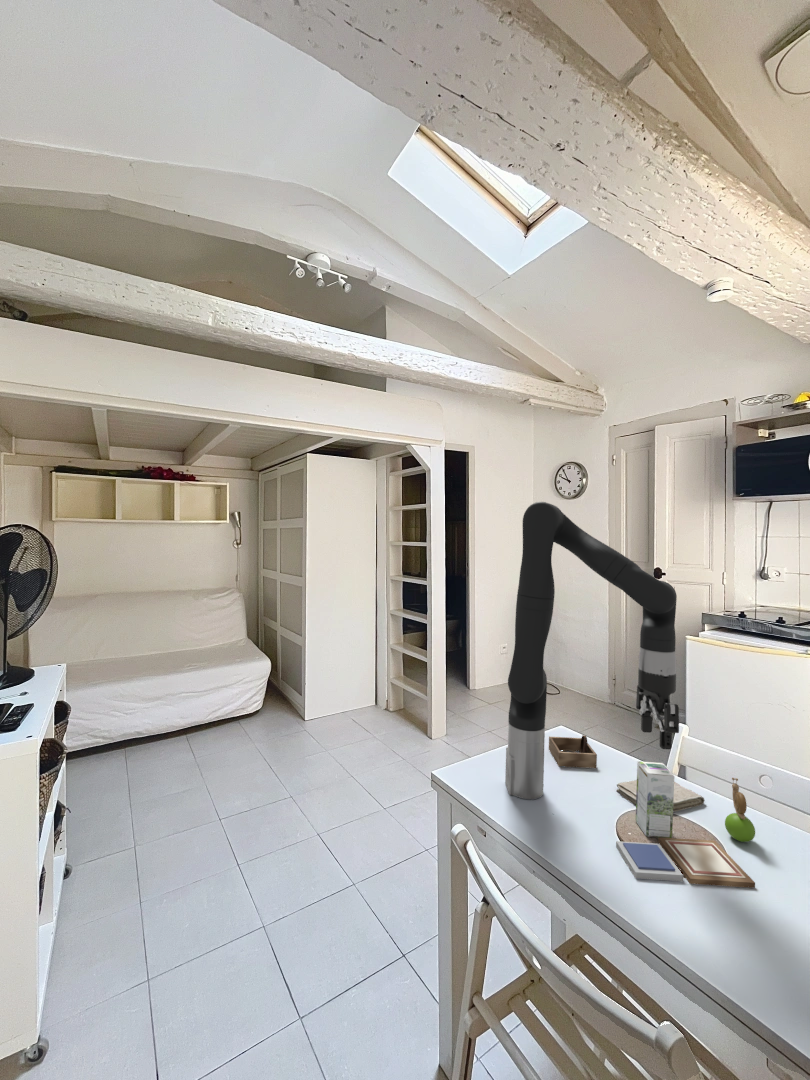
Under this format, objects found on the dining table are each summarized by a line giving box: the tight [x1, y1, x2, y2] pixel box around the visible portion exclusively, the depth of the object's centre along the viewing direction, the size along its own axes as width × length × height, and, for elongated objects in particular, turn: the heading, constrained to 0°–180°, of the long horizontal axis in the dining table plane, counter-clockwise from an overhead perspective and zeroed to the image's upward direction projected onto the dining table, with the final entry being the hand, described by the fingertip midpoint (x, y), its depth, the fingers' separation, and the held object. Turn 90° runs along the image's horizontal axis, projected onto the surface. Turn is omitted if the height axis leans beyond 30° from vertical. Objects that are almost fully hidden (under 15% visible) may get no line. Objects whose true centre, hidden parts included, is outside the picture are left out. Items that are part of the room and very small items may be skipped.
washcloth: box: [616, 779, 706, 813], centre depth 115 cm, size 12×18×3 cm, turn 110°
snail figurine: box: [724, 777, 756, 843], centre depth 100 cm, size 5×6×12 cm
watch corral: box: [548, 736, 598, 769], centre depth 135 cm, size 11×11×4 cm
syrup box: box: [635, 760, 675, 838], centre depth 102 cm, size 6×6×14 cm
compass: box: [560, 734, 588, 753], centre depth 134 cm, size 8×8×7 cm
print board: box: [657, 837, 756, 889], centre depth 91 cm, size 12×12×1 cm
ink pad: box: [615, 840, 684, 882], centre depth 91 cm, size 9×9×2 cm
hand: (655, 739), depth 102 cm, fingers open, 8 cm apart
